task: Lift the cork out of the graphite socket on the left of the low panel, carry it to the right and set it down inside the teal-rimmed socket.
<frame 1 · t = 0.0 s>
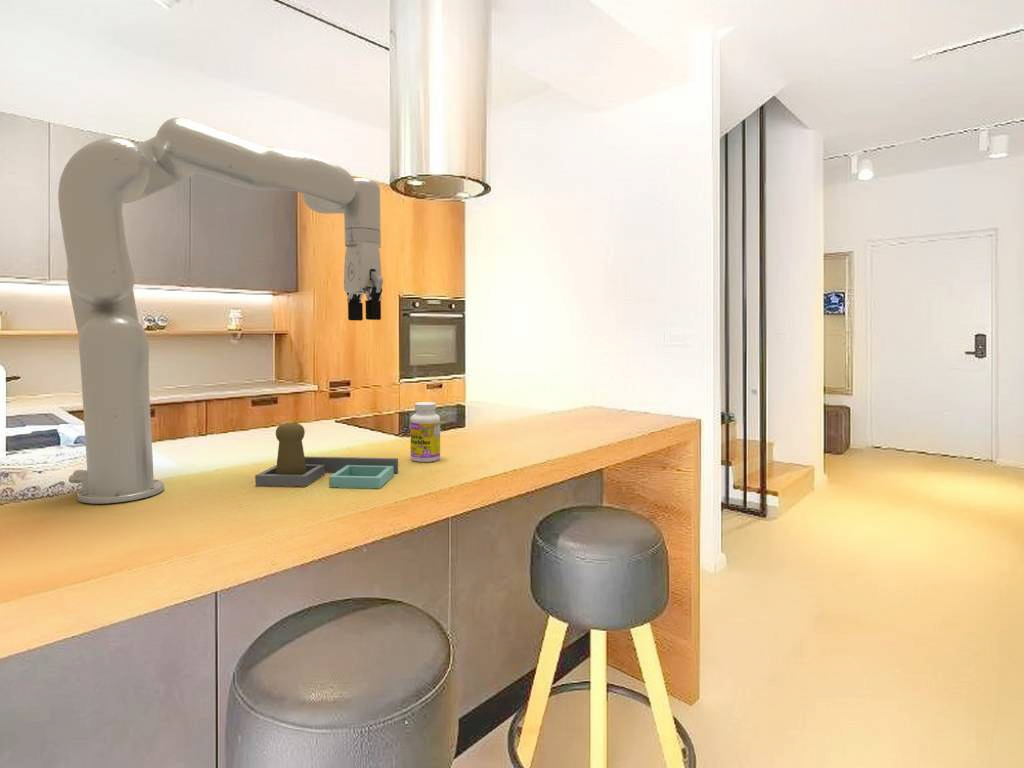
hand: (364, 320, 125), 31 cm above the table, tool pointing down, fingers open, 9 cm apart
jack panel: (327, 480, 111), on the table
supplement bottle: (425, 460, 130), on the table
cork: (291, 481, 111), resting in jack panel
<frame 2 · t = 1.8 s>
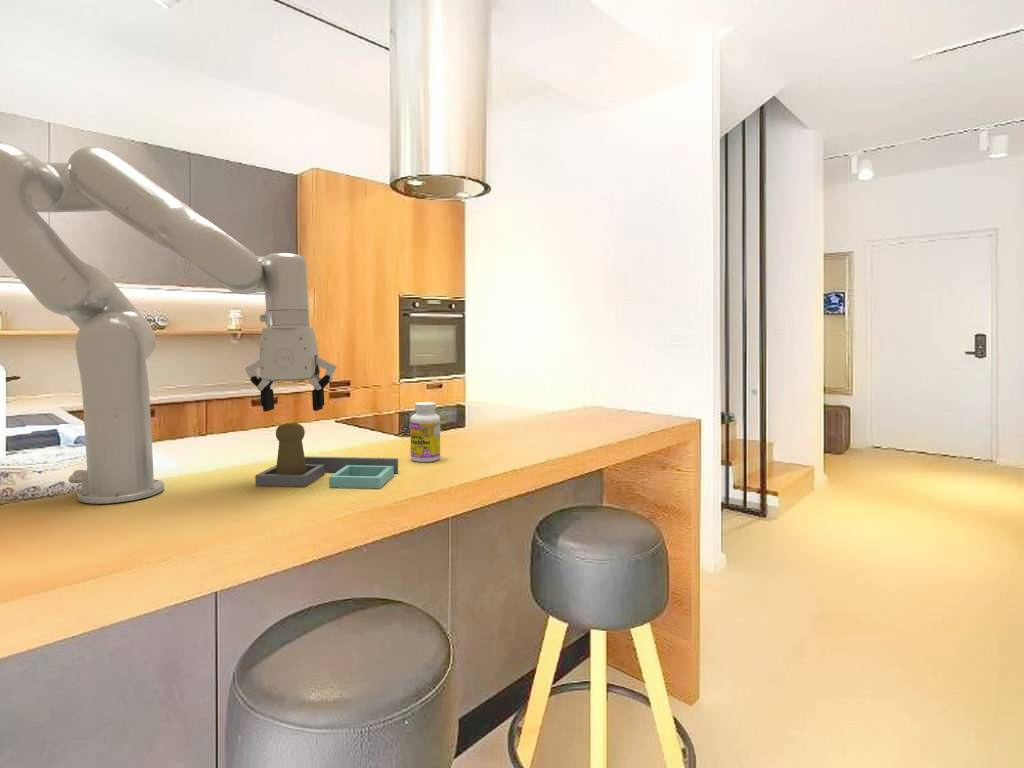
hand: (293, 410, 110), 14 cm above the table, tool pointing down, fingers open, 9 cm apart
nothing on the table moved.
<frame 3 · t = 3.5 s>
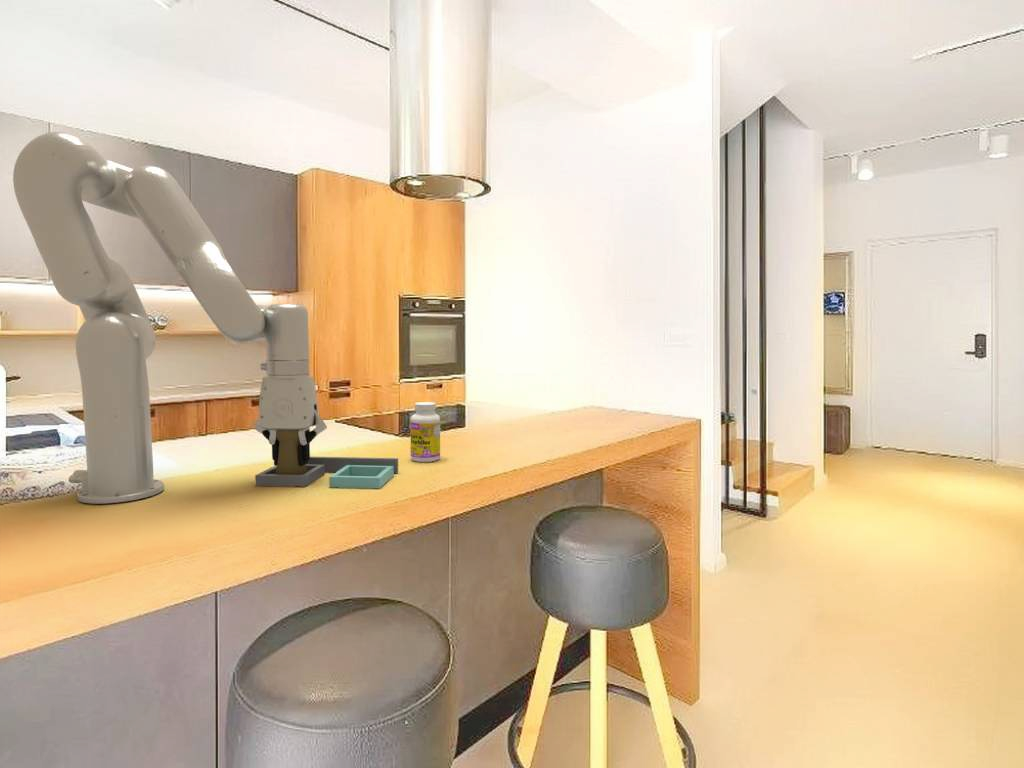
hand: (291, 463, 111), 3 cm above the table, tool pointing down, fingers closed on cork, 4 cm apart
cork: (291, 481, 111), resting in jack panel, touching gripper
everything else where it was.
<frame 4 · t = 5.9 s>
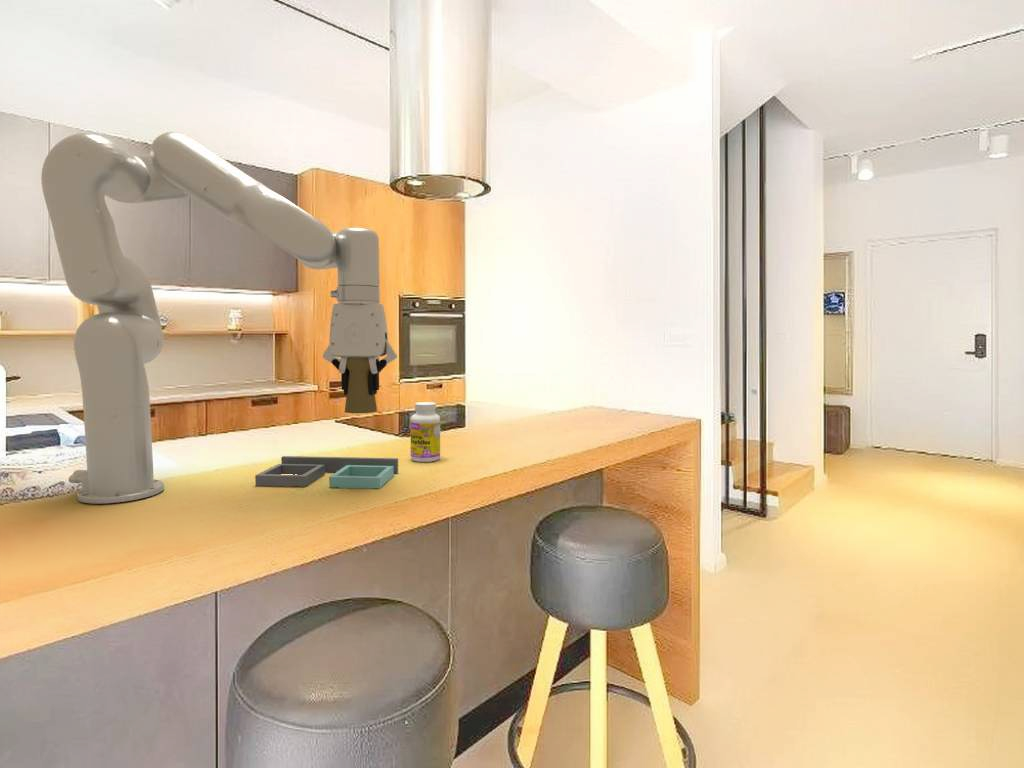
hand: (360, 393, 109), 17 cm above the table, tool pointing down, fingers closed on cork, 4 cm apart
cork: (360, 412, 109), point 13 cm above the table, touching gripper
everything else where it was.
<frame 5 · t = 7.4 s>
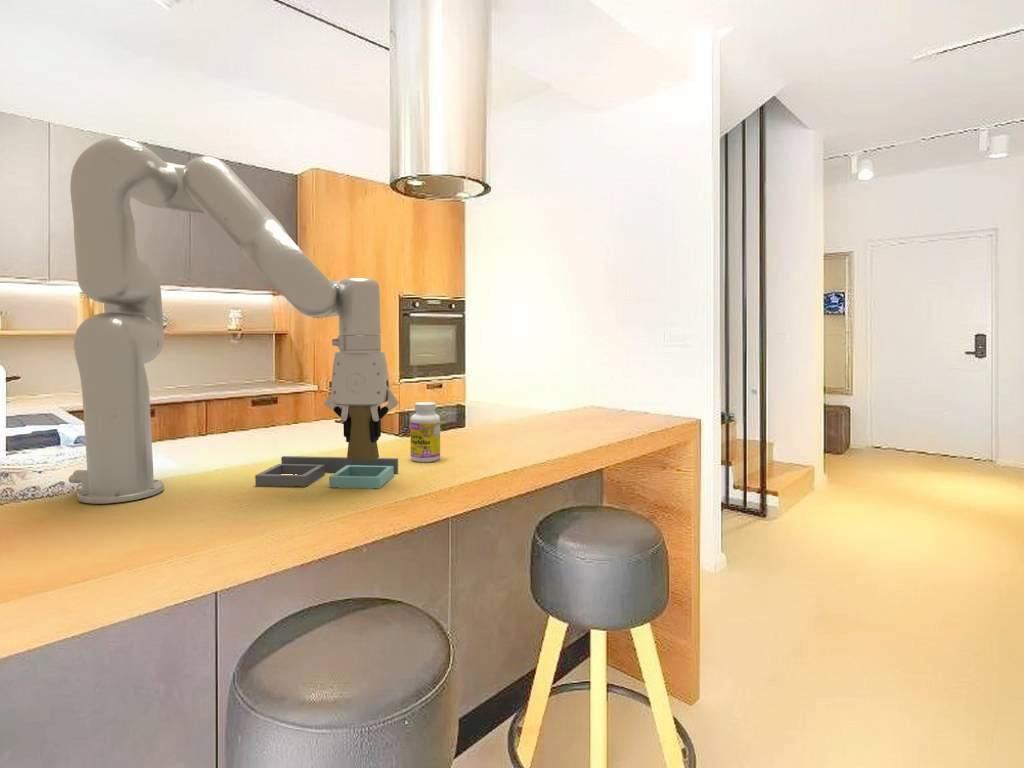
hand: (362, 439, 110), 8 cm above the table, tool pointing down, fingers closed on cork, 4 cm apart
cork: (363, 458, 110), point 4 cm above the table, touching gripper
everything else where it was.
when the fingers open (5 cm above the table, at t = 8.4 s): cork drops 1 cm, resting in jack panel.
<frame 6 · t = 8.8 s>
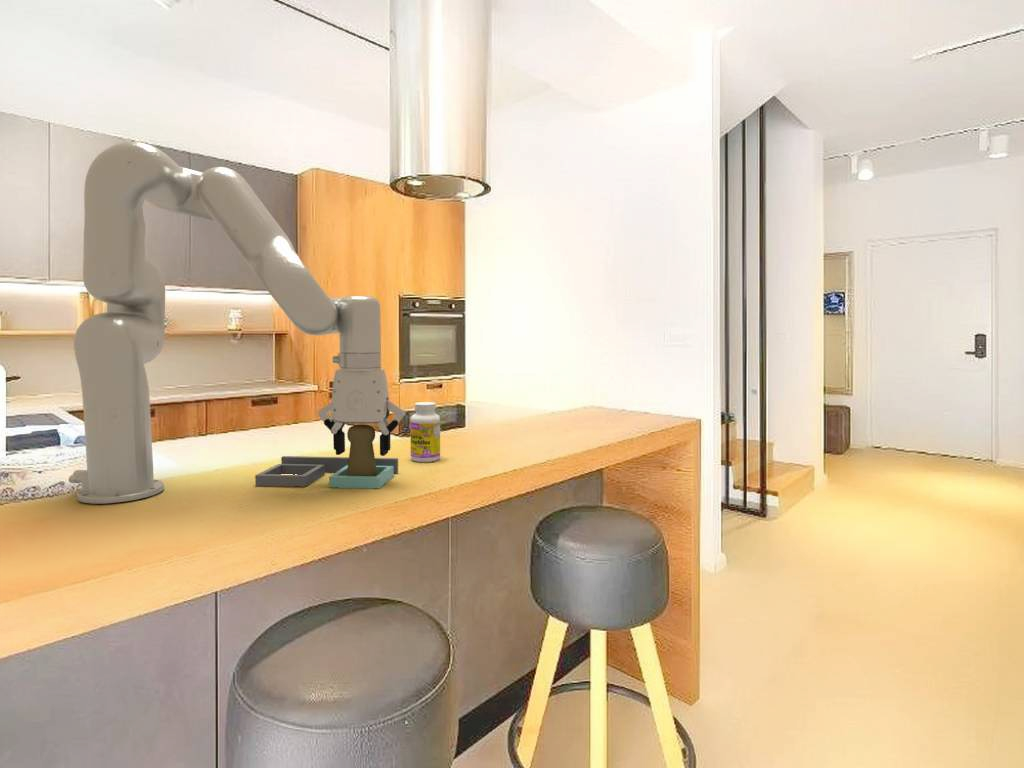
hand: (362, 453, 110), 5 cm above the table, tool pointing down, fingers open, 8 cm apart
cork: (362, 482, 111), resting in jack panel
everything else where it was.
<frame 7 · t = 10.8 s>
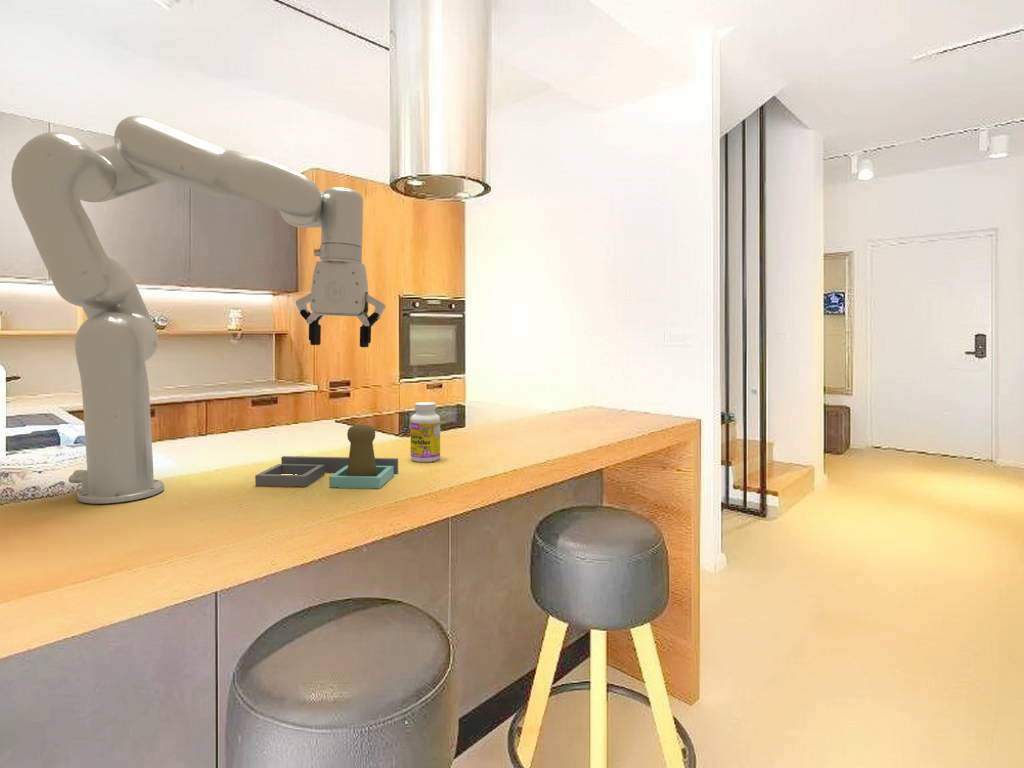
hand: (339, 346, 111), 26 cm above the table, tool pointing down, fingers open, 9 cm apart
nothing on the table moved.
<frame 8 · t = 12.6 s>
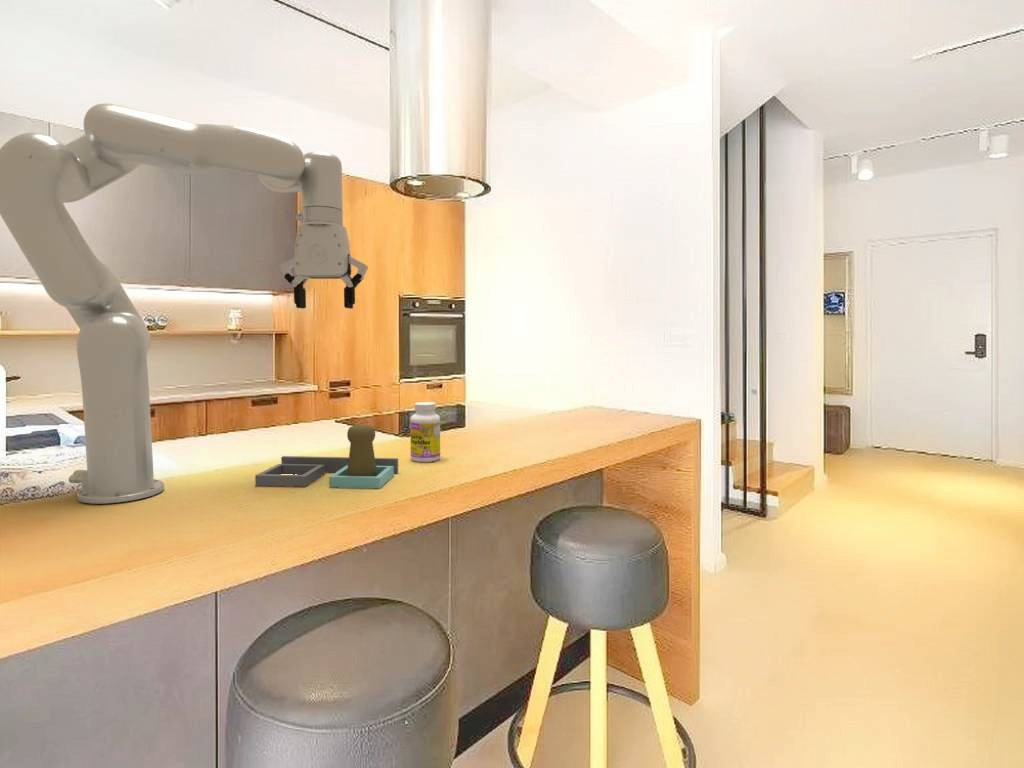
hand: (324, 308, 114), 33 cm above the table, tool pointing down, fingers open, 9 cm apart
nothing on the table moved.
at the end: cork 0.1 cm from the target spot on the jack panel, point 0.0 cm above the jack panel's base; cork tilted 0°; the gripper is holding nothing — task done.
